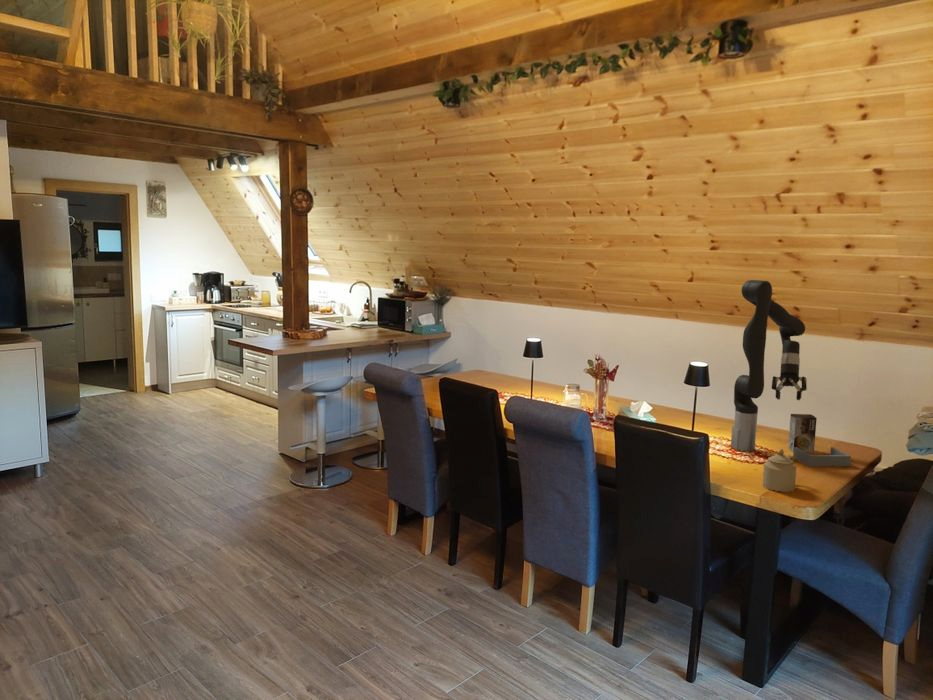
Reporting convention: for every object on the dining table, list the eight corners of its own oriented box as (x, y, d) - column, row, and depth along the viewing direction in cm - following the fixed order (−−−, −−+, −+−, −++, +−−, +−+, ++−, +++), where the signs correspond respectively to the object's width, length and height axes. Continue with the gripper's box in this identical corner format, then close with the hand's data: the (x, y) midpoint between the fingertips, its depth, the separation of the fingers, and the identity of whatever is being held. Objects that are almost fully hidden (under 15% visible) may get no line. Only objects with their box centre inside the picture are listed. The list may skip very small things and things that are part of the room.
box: (808, 466, 274) (809, 456, 273) (793, 457, 286) (793, 447, 285) (849, 466, 274) (851, 456, 274) (832, 457, 287) (833, 447, 286)
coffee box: (808, 448, 299) (811, 414, 297) (814, 453, 293) (817, 417, 290) (787, 448, 300) (790, 413, 297) (792, 452, 293) (795, 416, 291)
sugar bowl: (760, 477, 259) (763, 440, 257) (791, 481, 256) (795, 443, 253) (763, 490, 246) (766, 451, 243) (796, 494, 242) (799, 454, 240)
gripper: (770, 362, 302) (768, 398, 299) (803, 362, 292) (801, 399, 289) (777, 365, 307) (775, 400, 304) (809, 365, 297) (808, 401, 294)
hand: (788, 399), depth 297 cm, fingers open, 8 cm apart
